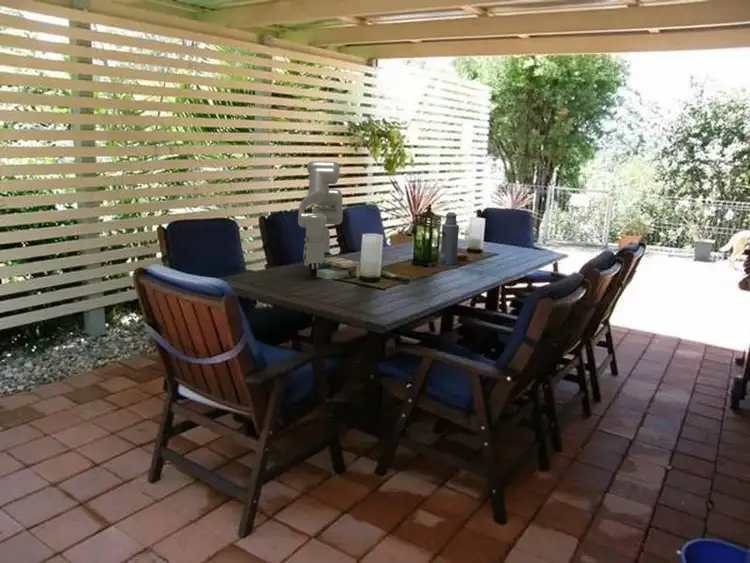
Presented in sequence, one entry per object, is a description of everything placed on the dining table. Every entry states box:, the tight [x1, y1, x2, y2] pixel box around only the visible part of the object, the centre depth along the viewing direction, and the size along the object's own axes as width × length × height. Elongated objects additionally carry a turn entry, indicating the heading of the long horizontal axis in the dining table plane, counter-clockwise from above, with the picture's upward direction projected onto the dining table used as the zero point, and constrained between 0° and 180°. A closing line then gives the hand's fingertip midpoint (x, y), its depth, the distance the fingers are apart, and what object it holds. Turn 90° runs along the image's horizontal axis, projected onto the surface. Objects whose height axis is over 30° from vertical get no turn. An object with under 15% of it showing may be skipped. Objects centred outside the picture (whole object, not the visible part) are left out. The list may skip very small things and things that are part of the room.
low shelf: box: [323, 256, 361, 280], centre depth 305 cm, size 20×14×8 cm
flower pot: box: [317, 252, 334, 270], centre depth 318 cm, size 9×9×9 cm
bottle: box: [439, 211, 460, 266], centre depth 343 cm, size 10×10×30 cm
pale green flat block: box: [316, 267, 348, 280], centre depth 303 cm, size 10×14×3 cm
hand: (313, 276), depth 296 cm, fingers closed
